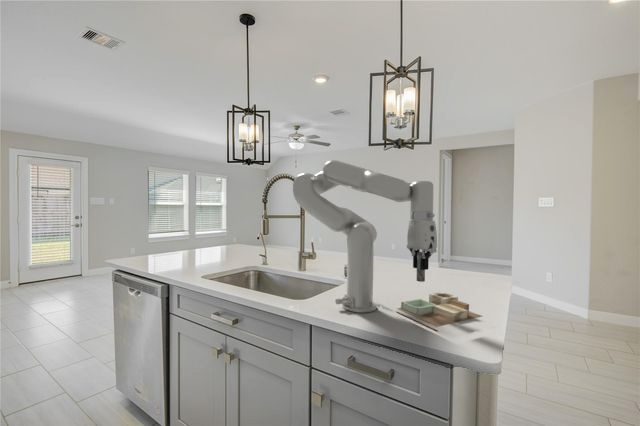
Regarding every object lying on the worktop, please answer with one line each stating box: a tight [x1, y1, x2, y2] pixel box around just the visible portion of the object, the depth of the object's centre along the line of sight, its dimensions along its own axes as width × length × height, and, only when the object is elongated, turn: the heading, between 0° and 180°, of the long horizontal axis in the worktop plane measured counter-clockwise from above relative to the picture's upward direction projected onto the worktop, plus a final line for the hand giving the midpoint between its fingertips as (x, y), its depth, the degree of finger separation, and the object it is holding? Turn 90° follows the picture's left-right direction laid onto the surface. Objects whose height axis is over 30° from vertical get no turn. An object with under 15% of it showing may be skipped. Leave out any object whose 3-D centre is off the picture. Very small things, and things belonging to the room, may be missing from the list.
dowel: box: [416, 251, 426, 283], centre depth 106 cm, size 3×3×10 cm
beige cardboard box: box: [433, 303, 468, 321], centre depth 102 cm, size 7×8×2 cm
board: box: [396, 299, 483, 332], centre depth 105 cm, size 22×18×6 cm
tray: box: [400, 298, 436, 316], centre depth 106 cm, size 9×8×2 cm
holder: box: [428, 291, 459, 305], centre depth 111 cm, size 7×7×4 cm
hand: (420, 268), depth 106 cm, fingers closed on dowel, 2 cm apart
